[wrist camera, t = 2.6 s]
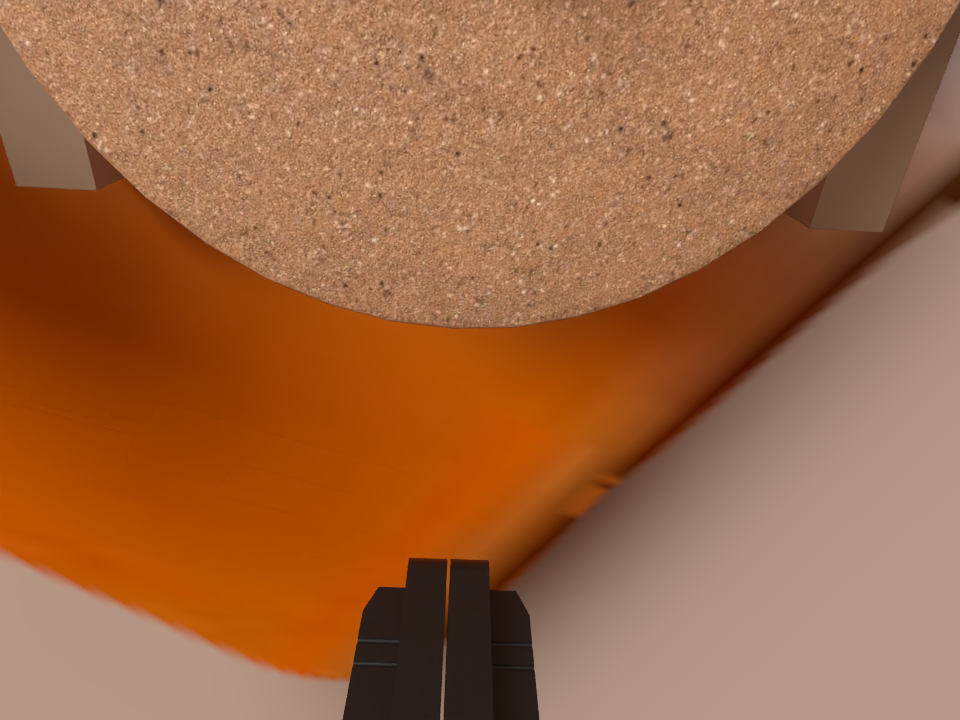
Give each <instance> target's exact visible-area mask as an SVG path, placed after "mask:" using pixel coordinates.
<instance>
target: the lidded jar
mask: <svg viewBox="0 0 960 720" xmlns="http://www.w3.org/2000/svg"><path fill="white" fill-rule="evenodd" d="M959 3H960V0H0V26H1V27H2V29H3V30H4V32H5V34H6V35H7V37H8V38H9V40H10V41H11V43H12V45H13V46H14V48H15V49H16V51H17V52H18V54H19V56H20V57H21V59H22V60H23V62H24V63H25V65H26V66H27V68H28V69H29V70H30V71H31V73H32V74H33V75H34V76H35V78H36V79H37V80H38V81H39V83H40V84H41V85H42V86H43V87H44V89H45V90H46V91H47V92H48V94H49V95H50V96H51V97H52V99H53V100H54V101H55V102H56V103H57V105H58V106H59V107H60V108H61V110H62V111H63V112H64V113H65V115H66V116H67V117H68V118H69V119H70V121H71V122H72V123H73V124H74V126H75V127H76V128H77V129H78V131H79V132H80V133H81V134H82V135H83V137H84V138H85V139H86V140H87V141H88V142H89V143H90V144H91V145H92V146H93V147H94V148H95V149H96V150H97V151H98V152H99V153H100V154H101V155H102V156H103V157H104V158H105V159H106V160H107V161H109V162H110V163H111V164H112V165H113V166H114V167H115V168H116V169H117V170H118V171H119V172H120V173H121V174H122V175H123V176H124V177H125V178H126V179H127V180H128V181H129V182H130V183H131V184H132V185H133V186H134V187H135V188H136V189H137V190H138V191H139V192H140V193H141V194H142V195H143V196H144V197H146V198H147V199H148V200H150V201H151V202H152V203H154V204H155V205H156V206H157V207H159V208H160V209H161V210H163V211H164V212H165V213H167V214H168V215H169V216H171V217H172V218H173V219H175V220H176V221H177V222H178V223H180V224H181V225H182V226H184V227H185V228H186V229H188V230H189V231H190V232H192V233H193V234H194V235H195V236H197V237H198V238H199V239H201V240H202V241H203V242H205V243H206V244H208V245H210V246H211V247H213V248H215V249H216V250H218V251H220V252H222V253H223V254H225V255H227V256H229V257H230V258H232V259H234V260H235V261H237V262H239V263H241V264H242V265H244V266H246V267H247V268H249V269H251V270H253V271H254V272H256V273H258V274H260V275H261V276H263V277H265V278H266V279H269V280H271V281H273V282H276V283H278V284H281V285H283V286H285V287H288V288H290V289H293V290H295V291H297V292H300V293H302V294H305V295H307V296H309V297H312V298H314V299H317V300H319V301H321V302H324V303H326V304H329V305H332V306H336V307H340V308H343V309H347V310H351V311H355V312H359V313H362V314H366V315H370V316H374V317H377V318H381V319H385V320H389V321H394V322H402V323H411V324H419V325H427V326H436V327H444V328H453V329H459V328H508V327H521V326H527V325H533V324H539V323H545V322H551V321H557V320H564V319H570V318H576V317H580V316H583V315H586V314H589V313H593V312H596V311H599V310H602V309H606V308H609V307H612V306H615V305H619V304H622V303H625V302H628V301H632V300H635V299H638V298H641V297H643V296H645V295H647V294H649V293H651V292H653V291H656V290H658V289H660V288H662V287H664V286H666V285H668V284H671V283H673V282H675V281H677V280H679V279H681V278H684V277H686V276H688V275H690V274H692V273H694V272H696V271H699V270H701V269H702V268H704V267H705V266H707V265H708V264H710V263H712V262H713V261H715V260H716V259H718V258H719V257H721V256H723V255H724V254H726V253H727V252H729V251H731V250H732V249H734V248H735V247H737V246H738V245H740V244H742V243H743V242H745V241H746V240H748V239H749V238H751V237H753V236H754V235H756V234H757V233H759V232H760V231H762V230H763V229H764V228H765V227H767V226H768V225H769V224H770V223H771V222H773V221H774V220H775V219H776V218H777V217H779V216H780V215H781V214H782V213H783V212H785V211H786V210H787V209H788V208H790V207H791V206H792V205H793V204H794V203H796V202H797V201H798V200H799V199H800V198H802V197H803V196H804V195H805V194H806V193H808V192H809V191H810V190H811V189H813V188H814V187H815V186H816V185H817V184H819V183H820V182H821V181H822V180H823V179H824V177H825V176H826V175H827V174H828V173H829V172H830V171H831V170H832V169H833V168H834V167H835V166H836V165H837V164H838V163H839V162H840V161H841V160H842V159H843V158H844V156H845V155H846V154H847V153H848V152H849V151H850V150H851V149H852V148H853V147H854V146H855V145H856V144H857V143H858V142H859V141H860V140H861V139H862V138H863V137H864V135H865V134H866V133H867V132H868V131H869V130H870V129H871V128H872V127H873V126H874V125H875V124H876V123H877V122H878V120H879V119H880V118H881V116H882V115H883V114H884V112H885V111H886V110H887V108H888V107H889V106H890V104H891V103H892V102H893V101H894V99H895V98H896V97H897V95H898V94H899V93H900V91H901V90H902V89H903V87H904V86H905V85H906V83H907V82H908V81H909V79H910V78H911V77H912V75H913V74H914V73H915V71H916V70H917V69H918V67H919V66H920V65H921V63H922V62H923V61H924V59H925V58H926V57H927V55H928V54H929V53H930V51H931V50H932V49H933V47H934V45H935V44H936V42H937V40H938V39H939V37H940V35H941V33H942V32H943V30H944V28H945V27H946V25H947V23H948V22H949V20H950V18H951V17H952V15H953V13H954V12H955V10H956V8H957V6H958V5H959Z"/></svg>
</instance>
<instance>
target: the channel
mask: <svg viewBox="0 0 960 720" xmlns="http://www.w3.org/2000/svg"><path fill="white" fill-rule="evenodd" d="M959 33H960V3H959V5H958V6H957V8H956V10H955V12H954V13H953V15H952V17H951V18H950V20H949V22H948V23H947V25H946V27H945V28H944V30H943V32H942V33H941V35H940V37H939V39H938V40H937V42H936V44H935V45H934V47H933V49H932V50H931V51H930V53H929V54H928V55H927V57H926V58H925V59H924V61H923V62H922V63H921V65H920V66H919V67H918V69H917V70H916V71H915V73H914V74H913V75H912V77H911V78H910V79H909V81H908V82H907V83H906V85H905V86H904V87H903V89H902V90H901V91H900V93H899V94H898V95H897V97H896V98H895V99H894V101H893V102H892V103H891V104H890V106H889V107H888V108H887V110H886V111H885V112H884V114H883V115H882V116H881V118H880V119H879V120H878V122H877V123H876V124H875V125H874V126H873V127H872V128H871V129H870V130H869V131H868V132H867V133H866V134H865V135H864V137H863V138H862V139H861V140H860V141H859V142H858V143H857V144H856V145H855V146H854V147H853V148H852V149H851V150H850V151H849V152H848V153H847V154H846V155H845V156H844V158H843V159H842V160H841V161H840V162H839V163H838V164H837V165H836V166H835V167H834V168H833V169H832V170H831V171H830V172H829V173H828V174H827V175H826V176H825V177H824V179H823V180H822V181H821V182H820V183H819V184H817V185H816V186H815V187H814V188H813V189H811V190H810V191H809V192H808V193H806V194H805V195H804V196H803V197H802V198H800V199H799V200H798V201H797V202H796V203H794V204H793V205H792V206H791V207H790V208H788V209H787V210H786V211H785V213H786V214H788V215H790V216H791V217H793V218H794V219H796V220H797V221H799V222H800V223H802V224H804V225H805V226H807V227H808V228H811V229H830V230H849V231H867V232H883V230H884V227H885V225H886V222H887V219H888V217H889V214H890V212H891V209H892V206H893V204H894V201H895V199H896V196H897V194H898V191H899V188H900V186H901V183H902V181H903V178H904V175H905V173H906V170H907V168H908V165H909V163H910V160H911V157H912V155H913V152H914V150H915V147H916V144H917V142H918V139H919V137H920V134H921V132H922V129H923V126H924V124H925V121H926V119H927V116H928V113H929V111H930V108H931V106H932V103H933V101H934V98H935V95H936V93H937V90H938V88H939V85H940V82H941V80H942V77H943V75H944V72H945V70H946V67H947V64H948V62H949V59H950V57H951V54H952V51H953V49H954V46H955V44H956V41H957V39H958V36H959ZM0 134H1V138H2V141H3V144H4V147H5V151H6V154H7V157H8V160H9V164H10V167H11V170H12V173H13V177H14V180H15V183H16V186H23V187H42V188H60V189H79V190H99V189H101V188H103V187H105V186H107V185H109V184H111V183H113V182H115V181H117V180H120V179H122V178H124V176H123V175H122V174H121V173H120V172H119V171H118V170H117V169H116V168H115V167H114V166H113V165H112V164H111V163H110V162H109V161H107V160H106V159H105V158H104V157H103V156H102V155H101V154H100V153H99V152H98V151H97V150H96V149H95V148H94V147H93V146H92V145H91V144H90V143H89V142H88V141H87V140H86V139H85V138H84V137H83V135H82V134H81V133H80V132H79V131H78V129H77V128H76V127H75V126H74V124H73V123H72V122H71V121H70V119H69V118H68V117H67V116H66V115H65V113H64V112H63V111H62V110H61V108H60V107H59V106H58V105H57V103H56V102H55V101H54V100H53V99H52V97H51V96H50V95H49V94H48V92H47V91H46V90H45V89H44V87H43V86H42V85H41V84H40V83H39V81H38V80H37V79H36V78H35V76H34V75H33V74H32V73H31V71H30V70H29V69H28V68H27V66H26V65H25V63H24V62H23V60H22V59H21V57H20V56H19V54H18V52H17V51H16V49H15V48H14V46H13V45H12V43H11V41H10V40H9V38H8V37H7V35H6V34H5V32H4V30H3V29H2V27H1V26H0Z"/></svg>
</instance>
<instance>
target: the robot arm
mask: <svg viewBox="0 0 960 720" xmlns="http://www.w3.org/2000/svg"><path fill="white" fill-rule="evenodd" d="M446 577H447V559H426V558H409V563H408V571H407V579H406V587H405V588H396V587H379V588H378V589H377V590H376V592H375V593H374V595H373V596H372V598H371V599H370V601H369V602H368V604H367V605H366V607H365V608H364V610H363V613H362V619H361V624H360V629H359V635H358V643H357V645H356V651H355V656H354V664H353V667H352V672H351V678H350V683H349V688H348V694H347V699H346V705H345V710H344V715H343V720H440V708H441V707H440V706H441V686H442V665H443V644H444V623H445V600H446ZM444 720H539V711H538V701H537V691H536V681H535V671H534V660H533V649H532V638H531V628H530V616H529V614H528V612H527V610H526V608H525V606H524V605H523V603H522V601H521V599H520V598H519V596H518V594H517V592H516V591H497V590H490V582H489V561H488V560H462V559H451V564H450V585H449V606H448V627H447V650H446V675H445V698H444Z"/></svg>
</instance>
